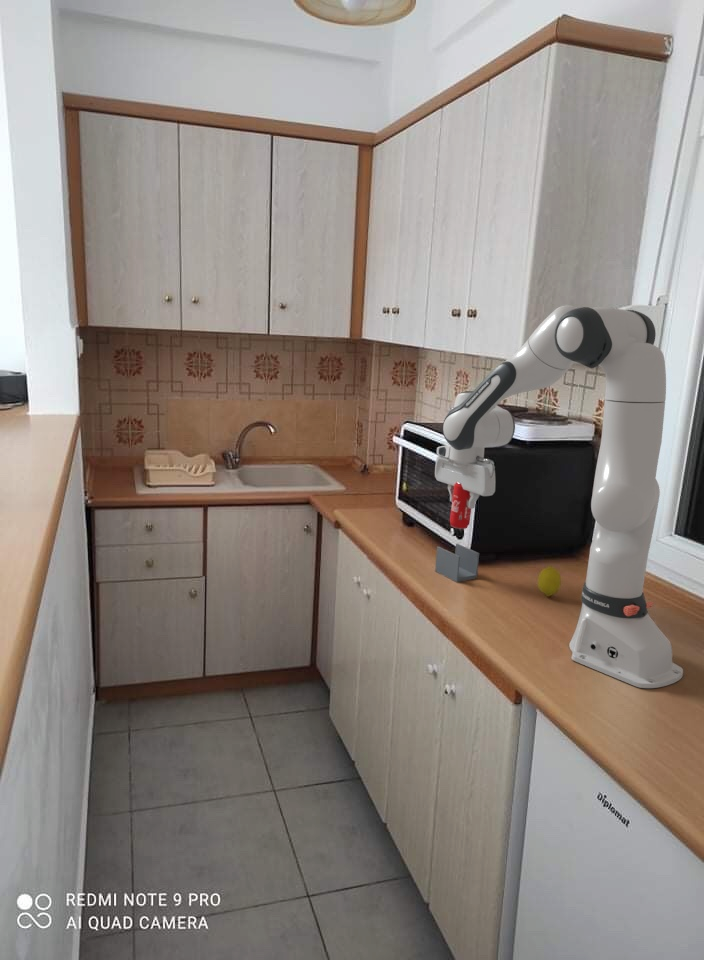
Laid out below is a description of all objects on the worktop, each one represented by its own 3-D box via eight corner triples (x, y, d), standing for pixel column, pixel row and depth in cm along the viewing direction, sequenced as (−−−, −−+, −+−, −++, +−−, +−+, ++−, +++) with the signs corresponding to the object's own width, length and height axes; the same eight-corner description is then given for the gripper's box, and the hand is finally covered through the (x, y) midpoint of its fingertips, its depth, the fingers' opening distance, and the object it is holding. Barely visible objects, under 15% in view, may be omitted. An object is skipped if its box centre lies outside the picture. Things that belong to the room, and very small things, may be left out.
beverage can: (468, 530, 186) (474, 485, 183) (448, 527, 187) (454, 482, 184) (469, 525, 191) (474, 481, 188) (449, 522, 192) (455, 479, 189)
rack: (476, 578, 190) (479, 553, 188) (456, 582, 186) (458, 556, 185) (455, 567, 197) (457, 543, 196) (435, 571, 194) (437, 546, 192)
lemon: (552, 602, 176) (556, 571, 174) (532, 595, 179) (535, 565, 178) (562, 596, 180) (566, 566, 178) (542, 590, 183) (546, 561, 182)
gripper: (503, 460, 178) (498, 513, 181) (451, 445, 194) (446, 495, 197) (484, 461, 174) (479, 516, 177) (432, 446, 191) (428, 497, 194)
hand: (462, 504), depth 187 cm, fingers closed on beverage can, 5 cm apart
